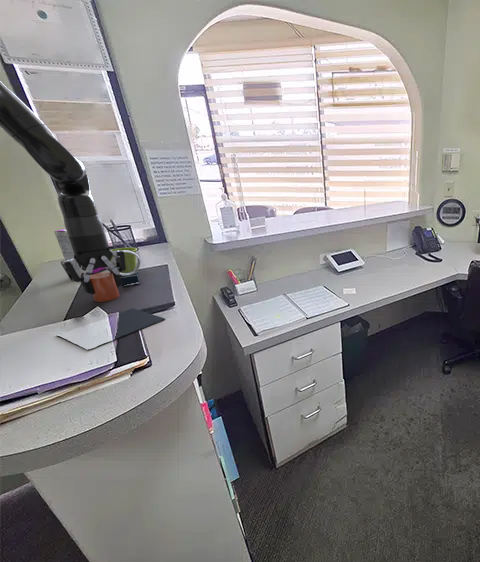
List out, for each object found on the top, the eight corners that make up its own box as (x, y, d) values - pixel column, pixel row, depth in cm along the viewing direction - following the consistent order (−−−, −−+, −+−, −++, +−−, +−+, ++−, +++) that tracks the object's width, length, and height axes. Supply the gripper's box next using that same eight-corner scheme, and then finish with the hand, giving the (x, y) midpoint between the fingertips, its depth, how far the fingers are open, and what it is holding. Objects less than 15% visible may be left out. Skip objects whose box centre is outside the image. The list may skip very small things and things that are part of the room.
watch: (115, 283, 102) (105, 251, 98) (145, 278, 106) (137, 247, 102) (115, 288, 97) (104, 255, 94) (146, 283, 102) (137, 251, 98)
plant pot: (104, 276, 108) (96, 252, 105) (132, 268, 117) (126, 246, 114) (121, 279, 105) (114, 255, 102) (149, 271, 113) (143, 248, 110)
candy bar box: (97, 267, 117) (83, 224, 112) (110, 268, 117) (97, 224, 111) (69, 277, 107) (52, 230, 101) (83, 277, 107) (67, 230, 101)
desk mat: (88, 351, 64) (87, 349, 64) (55, 335, 70) (55, 334, 70) (165, 319, 78) (165, 318, 78) (133, 309, 84) (133, 307, 83)
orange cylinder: (100, 303, 87) (93, 280, 84) (90, 299, 89) (82, 276, 87) (124, 296, 92) (117, 274, 89) (113, 292, 94) (106, 271, 92)
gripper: (109, 227, 91) (125, 280, 97) (44, 236, 79) (66, 296, 85) (124, 229, 88) (139, 284, 94) (58, 238, 76) (80, 301, 82)
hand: (104, 289), depth 90 cm, fingers closed on orange cylinder, 6 cm apart
